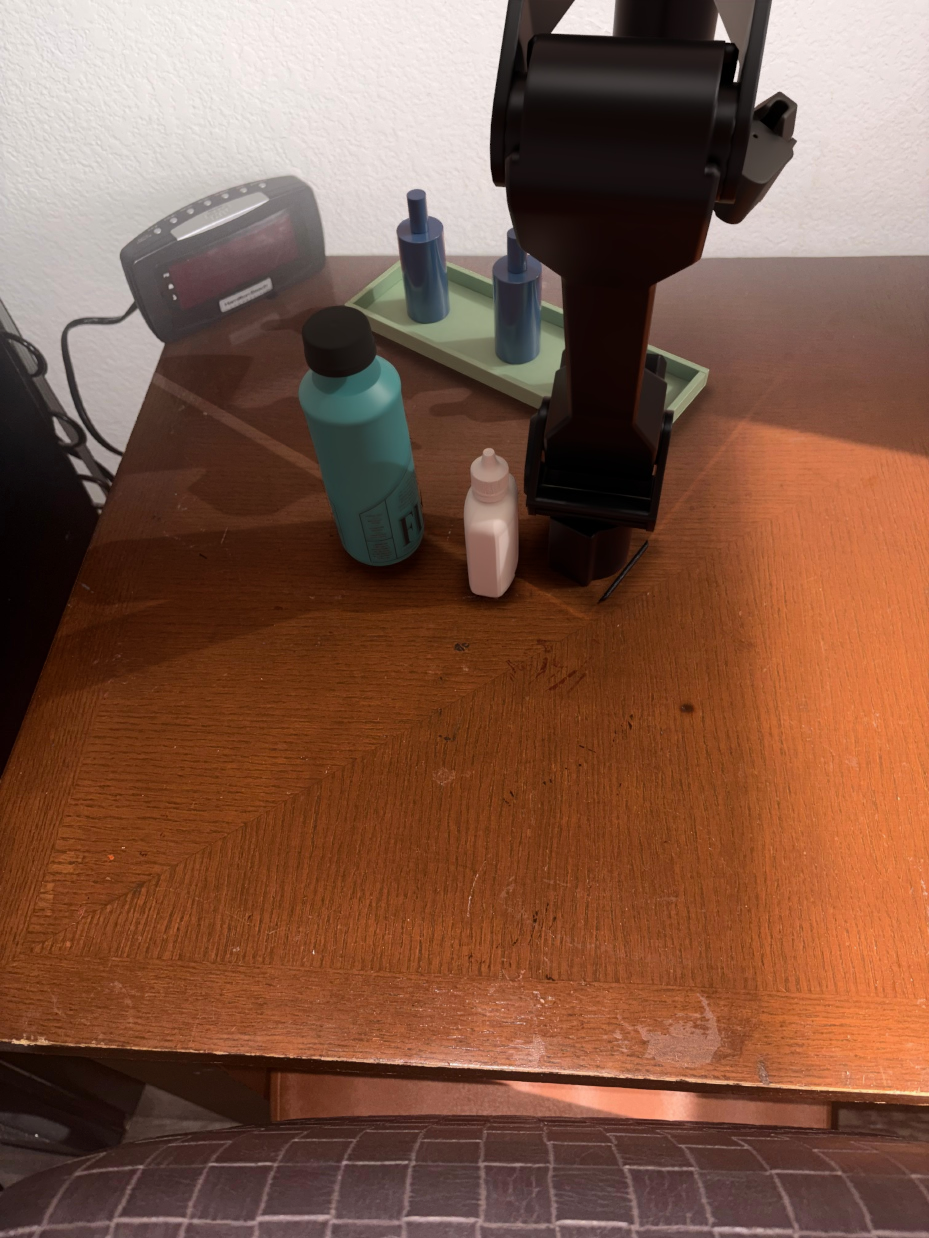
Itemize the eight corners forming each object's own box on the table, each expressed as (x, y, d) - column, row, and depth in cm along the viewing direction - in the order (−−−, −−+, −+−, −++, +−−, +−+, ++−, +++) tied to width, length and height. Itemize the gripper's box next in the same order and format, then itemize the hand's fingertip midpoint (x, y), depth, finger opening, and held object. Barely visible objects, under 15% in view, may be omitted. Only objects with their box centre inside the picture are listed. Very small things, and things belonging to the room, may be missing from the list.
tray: (641, 465, 67) (645, 444, 65) (347, 325, 78) (343, 304, 76) (704, 391, 71) (709, 369, 69) (416, 269, 82) (414, 247, 81)
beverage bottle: (417, 586, 62) (378, 368, 45) (330, 574, 63) (260, 356, 46) (437, 518, 65) (407, 291, 48) (354, 508, 66) (297, 283, 49)
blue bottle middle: (523, 370, 72) (523, 254, 63) (485, 353, 74) (480, 237, 65) (549, 345, 74) (553, 228, 65) (512, 329, 76) (510, 212, 66)
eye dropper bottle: (541, 560, 62) (545, 443, 52) (490, 608, 60) (484, 495, 50) (497, 530, 64) (493, 411, 54) (446, 576, 62) (431, 461, 52)
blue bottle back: (431, 329, 76) (419, 213, 67) (397, 314, 78) (381, 198, 68) (458, 305, 78) (450, 189, 69) (425, 291, 79) (412, 175, 70)
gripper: (709, 166, 42) (664, 405, 55) (863, 17, 49) (791, 258, 62) (523, 107, 46) (523, 343, 59) (692, -22, 54) (659, 212, 67)
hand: (631, 287), depth 62 cm, fingers open, 9 cm apart
